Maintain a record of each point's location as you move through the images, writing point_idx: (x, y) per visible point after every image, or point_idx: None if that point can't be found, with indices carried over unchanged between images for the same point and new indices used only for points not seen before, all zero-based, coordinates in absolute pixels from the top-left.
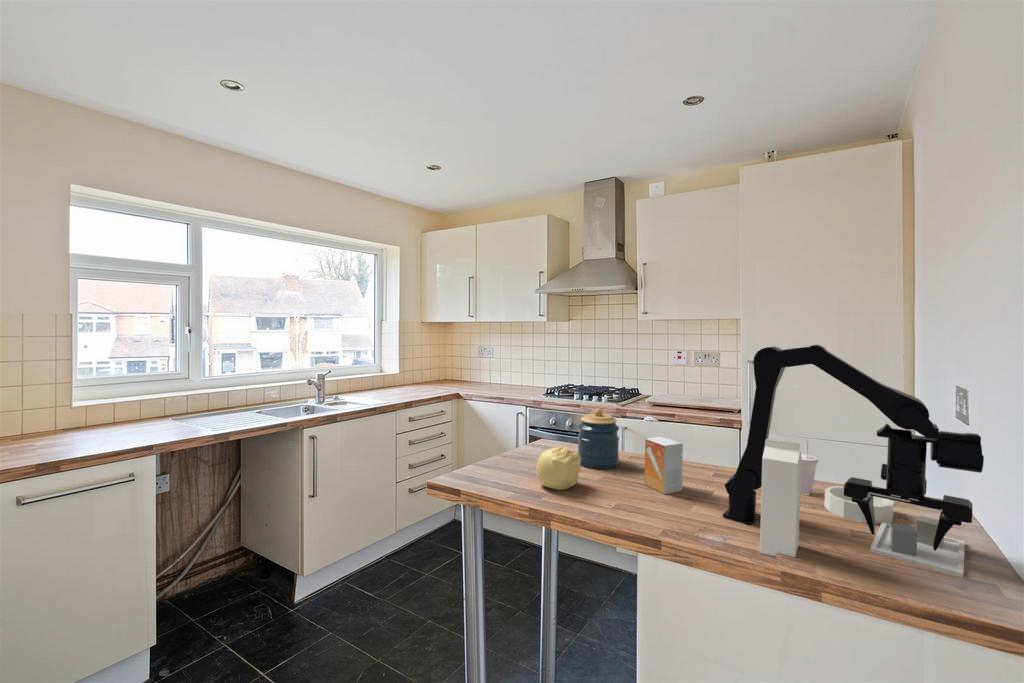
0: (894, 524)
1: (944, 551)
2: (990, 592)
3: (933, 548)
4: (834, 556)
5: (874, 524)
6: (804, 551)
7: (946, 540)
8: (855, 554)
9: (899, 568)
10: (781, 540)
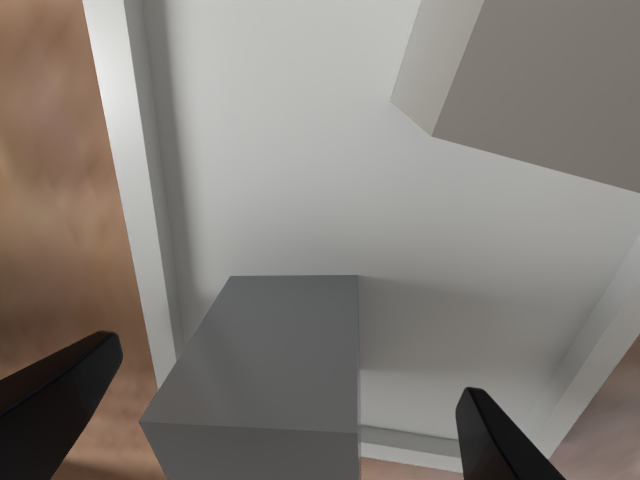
0: (178, 454)
1: (569, 192)
2: (588, 463)
3: (457, 430)
4: (97, 439)
5: (58, 411)
6: None
7: None
8: (140, 395)
9: None
10: None
